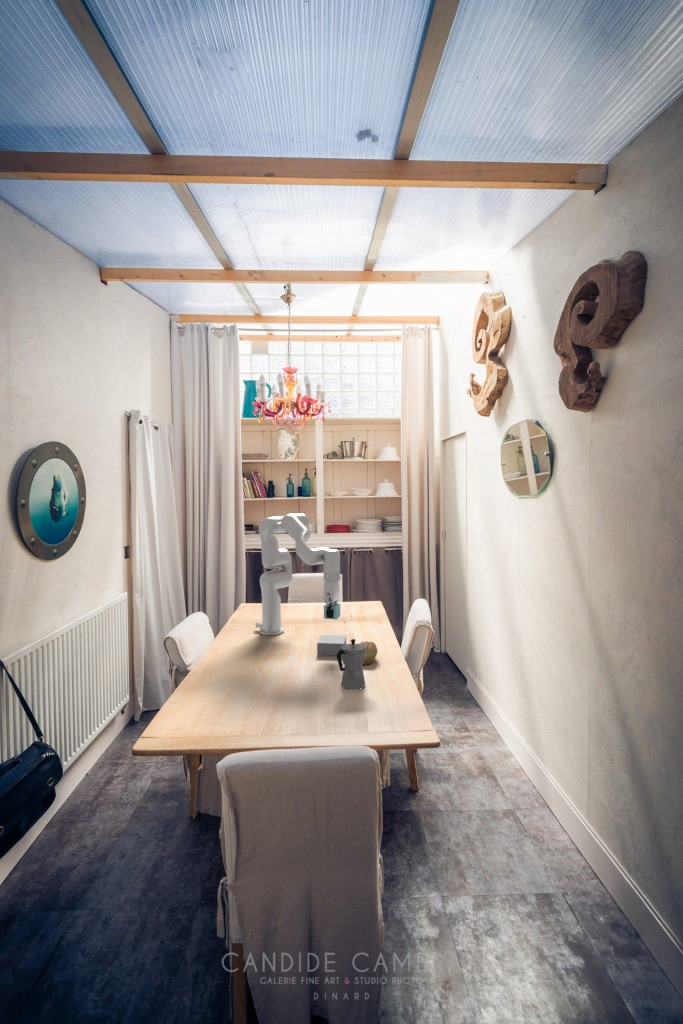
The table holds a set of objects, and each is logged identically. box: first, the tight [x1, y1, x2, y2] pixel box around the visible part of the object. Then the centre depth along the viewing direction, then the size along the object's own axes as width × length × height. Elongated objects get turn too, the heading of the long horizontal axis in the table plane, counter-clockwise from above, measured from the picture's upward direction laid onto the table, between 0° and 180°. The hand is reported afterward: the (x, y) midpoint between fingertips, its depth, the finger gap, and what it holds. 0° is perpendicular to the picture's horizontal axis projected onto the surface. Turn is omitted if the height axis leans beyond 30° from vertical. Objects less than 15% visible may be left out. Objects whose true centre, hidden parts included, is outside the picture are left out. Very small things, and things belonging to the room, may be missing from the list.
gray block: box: [316, 634, 347, 657], centre depth 243 cm, size 12×12×6 cm
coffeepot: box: [336, 638, 366, 691], centre depth 202 cm, size 15×9×18 cm, turn 137°
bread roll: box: [360, 640, 378, 666], centre depth 232 cm, size 10×15×8 cm, turn 175°
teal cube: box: [323, 602, 341, 620], centre depth 242 cm, size 6×6×6 cm
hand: (332, 615), depth 242 cm, fingers closed on teal cube, 6 cm apart
